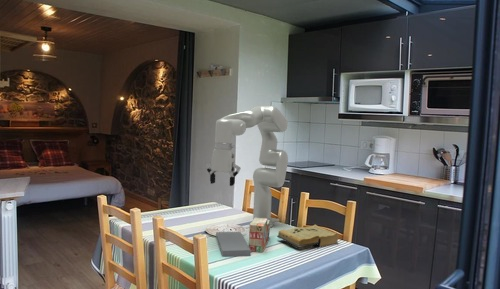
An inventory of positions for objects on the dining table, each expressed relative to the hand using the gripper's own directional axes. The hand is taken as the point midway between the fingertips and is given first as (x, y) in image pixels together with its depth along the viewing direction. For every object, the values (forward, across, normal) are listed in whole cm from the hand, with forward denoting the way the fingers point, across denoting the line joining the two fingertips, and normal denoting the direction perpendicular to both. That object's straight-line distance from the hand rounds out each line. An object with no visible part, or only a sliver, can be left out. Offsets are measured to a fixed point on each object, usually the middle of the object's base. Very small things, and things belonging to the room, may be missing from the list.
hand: (222, 184), depth 173 cm
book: (+29, -35, -24) cm, 51 cm away
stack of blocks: (+28, -16, -9) cm, 34 cm away
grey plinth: (+28, -6, -1) cm, 28 cm away
